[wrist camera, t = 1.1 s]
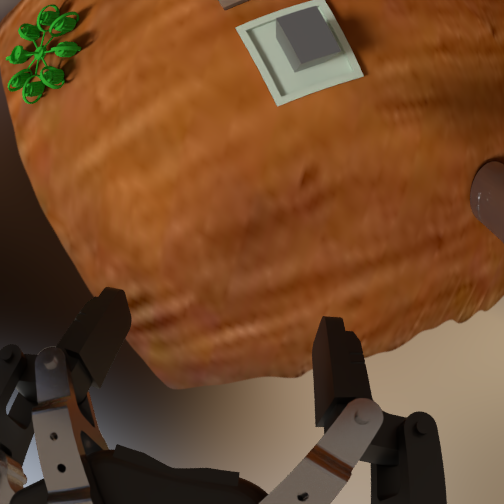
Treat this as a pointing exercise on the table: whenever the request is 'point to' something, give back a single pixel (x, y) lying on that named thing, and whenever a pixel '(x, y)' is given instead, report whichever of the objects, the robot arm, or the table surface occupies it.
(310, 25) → the grey rectangular prism
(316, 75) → the sage tray
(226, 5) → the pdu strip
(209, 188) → the table surface
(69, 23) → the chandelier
